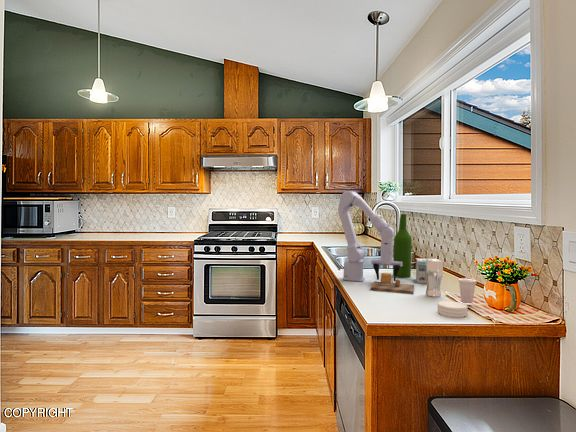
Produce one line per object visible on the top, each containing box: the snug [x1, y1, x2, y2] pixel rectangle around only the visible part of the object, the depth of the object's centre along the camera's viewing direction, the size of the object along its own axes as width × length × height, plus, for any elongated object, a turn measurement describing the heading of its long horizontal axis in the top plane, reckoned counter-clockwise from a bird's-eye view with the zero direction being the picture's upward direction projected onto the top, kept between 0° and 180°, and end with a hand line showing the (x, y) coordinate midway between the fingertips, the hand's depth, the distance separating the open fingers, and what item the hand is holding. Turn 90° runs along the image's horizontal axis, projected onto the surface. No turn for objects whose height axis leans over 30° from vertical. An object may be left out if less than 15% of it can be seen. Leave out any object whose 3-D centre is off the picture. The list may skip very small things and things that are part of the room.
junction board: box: [369, 278, 415, 295], centre depth 179 cm, size 18×14×4 cm
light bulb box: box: [415, 257, 427, 284], centre depth 197 cm, size 11×7×11 cm, turn 168°
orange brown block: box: [380, 272, 393, 283], centre depth 191 cm, size 5×5×4 cm
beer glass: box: [425, 258, 444, 298], centre depth 168 cm, size 7×7×15 cm
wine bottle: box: [392, 213, 413, 279], centre depth 208 cm, size 9×9×32 cm
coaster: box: [436, 300, 469, 318], centre depth 142 cm, size 10×10×4 cm
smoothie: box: [458, 268, 477, 304], centre depth 154 cm, size 6×6×14 cm
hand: (386, 280), depth 191 cm, fingers open, 7 cm apart
